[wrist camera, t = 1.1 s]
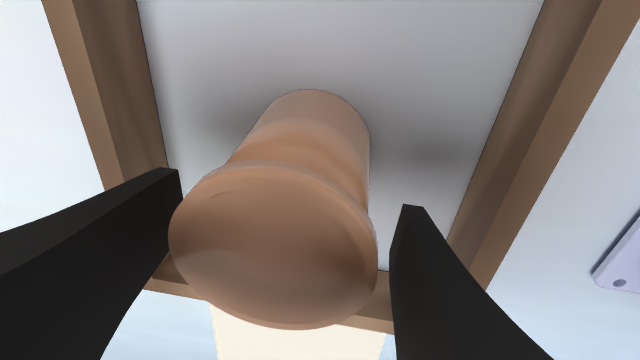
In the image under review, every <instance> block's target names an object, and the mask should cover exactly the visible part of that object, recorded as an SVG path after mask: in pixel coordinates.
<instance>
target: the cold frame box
mask: <svg viewBox="0 0 640 360" xmlns="http://www.w3.org/2000/svg"><path fill="white" fill-rule="evenodd" d="M41 1H42V4H43V7H44V10H45V13H46V16H47V19H48V22H49V25H50V28H51V31H52V34H53V37H54V40H55V43H56V46H57V49H58V52H59V55H60V58H61V61H62V64H63V67H64V70H65V73H66V76H67V79H68V82H69V85H70V88H71V91H72V94H73V97H74V100H75V103H76V106H77V109H78V112H79V115H80V118H81V121H82V124H83V127H84V130H85V133H86V136H87V139H88V142H89V145H90V148H91V151H92V154H93V157H94V160H95V163H96V166H97V169H98V172H99V175H100V178H101V181H102V184H103V187H104V190H105V191H107V190H109V189H111V188H113V187H115V186H118V185H120V184H122V183H124V182H126V181H128V180H130V179H133V178H135V177H137V176H139V175H141V174H144V173H146V172H148V171H151V170H153V169H156V168H158V167H164V168H168V164H167V159H166V154H165V149H164V144H163V138H162V133H161V128H160V123H159V118H158V113H157V108H156V103H155V97H154V92H153V87H152V82H151V77H150V72H149V67H148V62H147V56H146V51H145V46H144V41H143V36H142V31H141V26H140V20H139V15H138V10H137V5H136V0H41ZM639 18H640V0H545V1H544V4H543V6H542V9H541V11H540V13H539V16H538V18H537V21H536V23H535V26H534V28H533V30H532V33H531V35H530V38H529V40H528V43H527V45H526V48H525V50H524V52H523V55H522V57H521V60H520V62H519V65H518V67H517V69H516V72H515V74H514V77H513V79H512V82H511V84H510V87H509V89H508V91H507V94H506V96H505V99H504V101H503V104H502V106H501V108H500V111H499V113H498V116H497V118H496V121H495V123H494V125H493V128H492V130H491V133H490V135H489V138H488V140H487V143H486V145H485V147H484V150H483V152H482V155H481V157H480V160H479V162H478V164H477V167H476V169H475V172H474V174H473V177H472V179H471V182H470V184H469V186H468V189H467V191H466V194H465V196H464V199H463V201H462V203H461V206H460V208H459V211H458V213H457V216H456V218H455V220H454V223H453V225H452V228H451V230H450V233H449V235H448V238H447V240H446V242H447V243H448V244H449V246H450V247H451V249H452V250H453V251H454V253H455V254H456V255H457V257H458V258H459V260H460V261H461V262H462V264H463V265H464V266H465V268H466V269H467V270H468V271H469V273H470V274H471V275H472V276H473V277H474V279H475V280H476V281H477V282H478V283H479V285H480V286H481V287H482V288H483V289H484V291H485V290H486V289H487V287H488V285H489V283H490V282H491V280H492V278H493V276H494V274H495V273H496V271H497V269H498V267H499V266H500V264H501V262H502V260H503V259H504V257H505V255H506V253H507V251H508V250H509V248H510V246H511V244H512V243H513V241H514V239H515V237H516V236H517V234H518V232H519V230H520V228H521V227H522V225H523V223H524V221H525V220H526V218H527V216H528V214H529V213H530V211H531V209H532V207H533V205H534V204H535V202H536V200H537V198H538V197H539V195H540V193H541V191H542V190H543V188H544V186H545V184H546V182H547V181H548V179H549V177H550V175H551V174H552V172H553V170H554V168H555V167H556V165H557V163H558V161H559V159H560V158H561V156H562V154H563V152H564V151H565V149H566V147H567V145H568V144H569V142H570V140H571V138H572V136H573V135H574V133H575V131H576V129H577V128H578V126H579V124H580V122H581V121H582V119H583V117H584V115H585V113H586V112H587V110H588V108H589V106H590V105H591V103H592V101H593V99H594V98H595V96H596V94H597V92H598V90H599V89H600V87H601V85H602V83H603V82H604V80H605V78H606V76H607V75H608V73H609V71H610V69H611V67H612V66H613V64H614V62H615V60H616V59H617V57H618V55H619V53H620V52H621V50H622V48H623V46H624V44H625V43H626V41H627V39H628V37H629V36H630V34H631V32H632V30H633V29H634V27H635V25H636V23H637V21H638V20H639ZM143 289H144V290H150V291H155V292H161V293H166V294H172V295H177V296H183V297H188V298H194V299H199V300H205V299H204V298H203V297H201V296H200V295H199V294H198V293H197V292H196V291H195V290H194V289H193V288H192V287H191V286H190V285H189V284H188V283H187V282H186V280H185V279H184V278H183V277H182V275H181V274H180V272H179V271H178V269H177V267H176V265H175V263H174V261H173V259H172V256H171V253H170V250H169V252H168V253H167V255H166V256H165V258H164V259H163V261H162V262H161V263H160V265H159V266H158V268H157V269H156V271H155V272H154V273H153V275H152V276H151V278H150V279H149V280H148V282H147V283H146V285H145V286H144V288H143ZM205 301H206V300H205ZM337 325H343V326H348V327H354V328H359V329H365V330H370V331H376V332H381V333H387V334H392V335H394V325H393V316H392V306H391V297H390V287H389V272H385V271H379V270H378V277H377V282H376V286H375V289H374V291H373V294H372V296H371V297H370V299H369V300H368V302H367V303H366V304H365V305H364V306H363V307H362V309H360V310H359V311H358V312H357V313H355V314H354V315H353V316H351V317H349V318H348V319H346V320H344V321H342V322H339V323H337Z"/></svg>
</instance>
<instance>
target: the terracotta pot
mask: <svg viewBox="0 0 640 360" xmlns="http://www.w3.org/2000/svg"><path fill="white" fill-rule="evenodd" d="M369 166H370V138H369V133H368V130H367V127H366V124H365V122H364V120H363V119H362V117H361V116H360V114H359V113H358V112H357V111H356V110H355V108H354V107H353V106H351V105H350V104H349V103H348V102H346V101H345V100H343V99H342V98H340V97H338V96H336V95H334V94H332V93H329V92H326V91H321V90H313V89H305V90H297V91H293V92H290V93H287V94H285V95H283V96H281V97H279V98H278V99H276V100H275V101H273V102H272V103H271V104H270V105H269V106H268V108H267V109H266V110H265V112H264V113H263V114H262V116H261V117H260V118H259V120H258V121H257V122H256V124H255V125H254V126H253V128H252V129H251V130H250V132H249V133H248V134H247V136H246V137H245V138H244V140H243V141H242V142H241V144H240V145H239V146H238V148H237V149H236V150H235V152H234V153H233V154H232V156H231V157H230V158H229V160H228V161H227V163H226V164H225V165H224V166H222V167H220V168H217V169H215V170H213V171H212V172H210V173H209V174H207V175H206V176H204V177H203V178H202V179H201V180H200V181H199V182H198V183H196V184H195V186H194V187H193V188H192V189H191V191H190V192H189V193H188V194H187V196H186V197H185V198H184V199H183V201H182V202H181V203H180V204H179V206H178V207H177V209H176V210H175V211H174V214H173V216H172V218H171V220H170V224H169V229H168V243H169V250H170V253H171V256H172V259H173V261H174V263H175V265H176V267H177V269H178V271H179V272H180V274H181V275H182V277H183V278H184V279H185V280H186V282H187V283H188V284H189V285H190V286H191V287H192V288H193V289H194V290H195V291H196V292H197V293H198V294H199V295H200V296H201V297H203V298H204V299H205V300H206V301H208V302H209V303H211V304H212V305H214V306H215V307H217V308H218V309H220V310H222V311H224V312H225V313H227V314H230V315H232V316H234V317H236V318H238V319H241V320H244V321H246V322H249V323H252V324H256V325H259V326H264V327H268V328H274V329H281V330H311V329H318V328H323V327H328V326H331V325H334V324H337V323H339V322H342V321H344V320H346V319H348V318H349V317H351V316H353V315H354V314H355V313H357V312H358V311H359V310H360V309H362V307H363V306H364V305H365V304H366V303H367V302H368V300H369V299H370V297H371V296H372V294H373V291H374V289H375V286H376V282H377V277H378V243H377V237H376V232H375V230H374V227H373V224H372V222H371V220H370V218H369V216H368V195H369Z"/></svg>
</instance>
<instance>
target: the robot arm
mask: <svg viewBox="0 0 640 360" xmlns="http://www.w3.org/2000/svg"><path fill="white" fill-rule="evenodd" d="M182 201H183V195H182V189H181V184H180V178H179V173H178V170H177V169H170V168H164V167H158V168H156V169H153V170H151V171H148V172H146V173H144V174H141V175H139V176H137V177H135V178H133V179H130V180H128V181H126V182H124V183H122V184H120V185H118V186H115V187H113V188H111V189H109V190H107V191H105V192H102V193H100V194H98V195H96V196H94V197H92V198H89V199H87V200H84V201H82V202H80V203H77V204H75V205H73V206H70V207H68V208H66V209H63V210H61V211H59V212H56V213H54V214H51V215H49V216H46V217H44V218H41V219H38V220H36V221H33V222H30V223H27V224H24V225H22V226H19V227H16V228H13V229H10V230H7V231H4V232H1V233H0V360H100V359H101V357H102V355H103V353H104V351H105V349H106V347H107V345H108V344H109V342H110V340H111V338H112V337H113V335H114V333H115V331H116V330H117V328H118V326H119V324H120V322H121V321H122V319H123V317H124V316H125V314H126V312H127V311H128V309H129V308H130V306H131V305H132V303H133V302H134V300H135V299H136V297H137V296H138V295H139V293H140V292H141V290H142V289H143V288H144V286H145V285H146V283H147V282H148V280H149V279H150V278H151V276H152V275H153V273H154V272H155V271H156V269H157V268H158V266H159V265H160V263H161V262H162V261H163V259H164V258H165V256H166V255H167V253H168V252H169V243H168V229H169V224H170V220H171V218H172V216H173V214H174V211H175V210H176V209H177V207H178V206H179V204H180V203H181V202H182ZM592 279H593V281H594V282H595V283H596V285H598V286H599V287H603V288H609V289H615V290H621V291H627V292H634V293H640V217H639V218H638V219H637V220H636V221H635V223H634V224H633V225H632V226H631V228H630V229H629V230H628V231H627V233H626V234H625V235H624V236H623V238H622V239H621V240H620V241H619V242H618V244H617V245H616V246H615V247H614V249H613V250H612V251H611V252H610V254H609V255H608V256H607V257H606V259H605V260H604V261H603V262H602V263H601V265H600V266H599V267H598V268H597V270H596V271H595V272H594V273H593V275H592ZM389 287H390V297H391V306H392V316H393V325H394V335H395V344H396V356H397V360H554V359H553V358H552V357H550V356H549V355H548V354H547V353H546V352H545V351H544V350H543V349H542V348H541V347H540V346H539V345H537V344H536V343H535V342H534V341H533V340H532V339H531V338H530V337H529V336H528V335H527V334H526V333H525V332H524V331H523V330H522V329H521V328H519V327H518V326H517V325H516V324H515V323H514V322H513V321H512V320H511V319H510V318H509V316H508V315H507V314H506V313H505V312H504V311H503V310H502V309H501V308H500V307H499V306H498V305H497V304H496V303H495V302H494V301H493V300H492V298H491V297H490V296H489V295H488V294H487V293H486V292H485V291H484V289H483V288H482V287H481V286H480V285H479V283H478V282H477V281H476V280H475V279H474V277H473V276H472V275H471V274H470V273H469V271H468V270H467V269H466V268H465V266H464V265H463V264H462V262H461V261H460V260H459V258H458V257H457V255H456V254H455V253H454V251H453V250H452V249H451V247H450V246H449V244H448V243H447V242H446V240H445V239H444V237H443V236H442V234H441V233H440V231H439V230H438V228H437V227H436V225H435V224H434V222H433V221H432V219H431V218H430V216H429V215H428V213H427V212H426V210H425V209H424V207H421V206H414V205H408V204H403V206H402V209H401V213H400V216H399V220H398V223H397V227H396V230H395V234H394V237H393V241H392V244H391V248H390V251H389Z"/></svg>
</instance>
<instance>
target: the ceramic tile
mask: <svg viewBox="0 0 640 360" xmlns="http://www.w3.org/2000/svg"><path fill="white" fill-rule="evenodd" d="M209 306H210V312H211V319H212V325H213V331H214V338H215V344H216V351H217V357H218V360H378V358H379V355H380V352H381V349H382V347H383V344H384V341H385V338H386V335H387V333H381V332H376V331H370V330H365V329H359V328H354V327H348V326H343V325H337V324H334V325H331V326H328V327H323V328H318V329H311V330H281V329H274V328H268V327H264V326H259V325H256V324H252V323H249V322H246V321H244V320H241V319H238V318H236V317H234V316H232V315H230V314H227V313H225V312H224V311H222V310H220V309H218V308H217V307H215V306H214V305H212V304H211V303H209Z"/></svg>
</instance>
